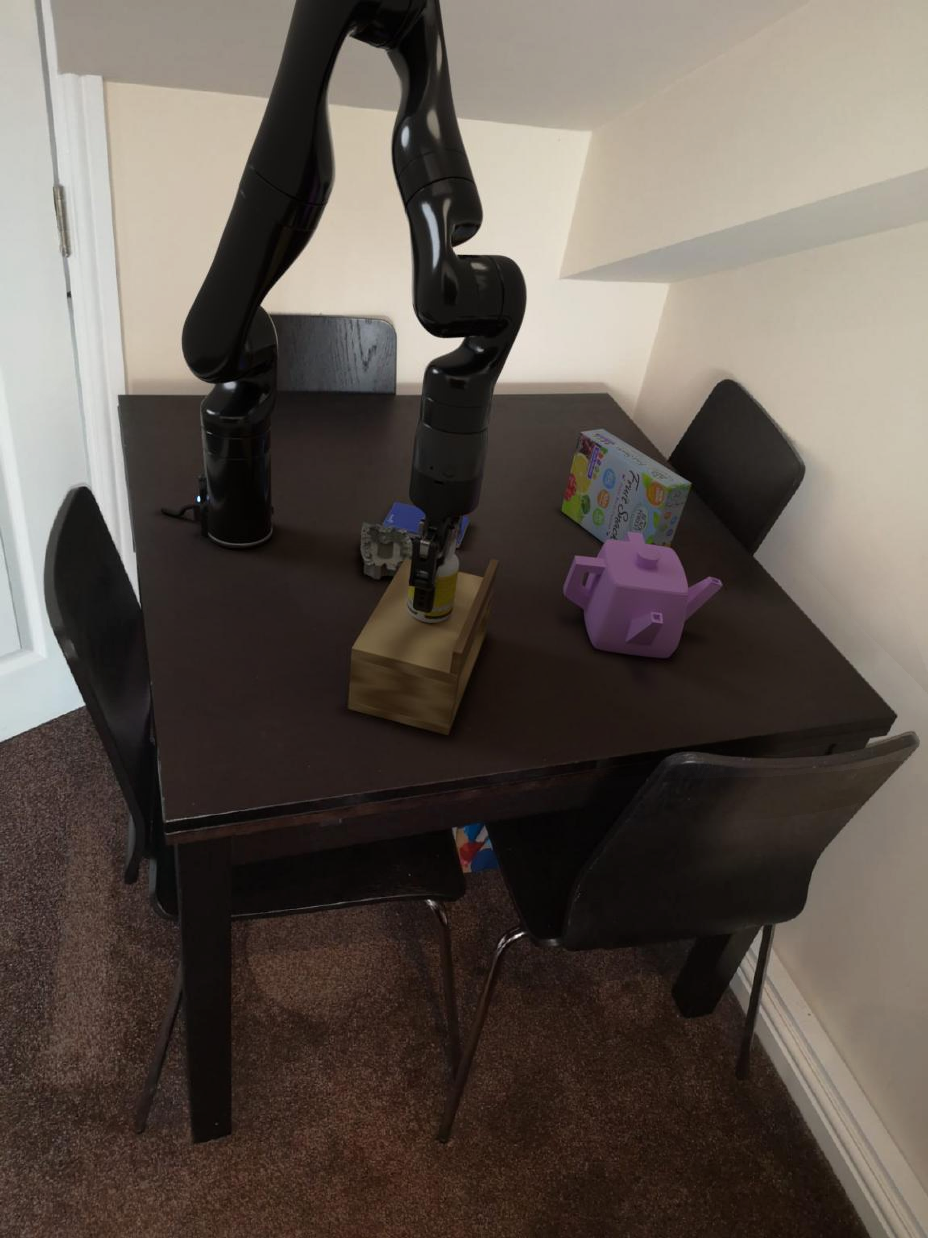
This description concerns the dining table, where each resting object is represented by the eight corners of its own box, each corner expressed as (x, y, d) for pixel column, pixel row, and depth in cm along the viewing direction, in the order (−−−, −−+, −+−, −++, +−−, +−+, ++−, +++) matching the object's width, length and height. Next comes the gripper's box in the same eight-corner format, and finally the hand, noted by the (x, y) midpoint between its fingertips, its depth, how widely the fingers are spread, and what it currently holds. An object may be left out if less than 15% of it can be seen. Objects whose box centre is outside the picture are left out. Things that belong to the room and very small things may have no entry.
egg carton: (411, 582, 114) (414, 558, 112) (359, 579, 113) (360, 555, 111) (409, 543, 123) (411, 520, 120) (360, 540, 122) (361, 517, 119)
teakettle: (615, 580, 122) (635, 509, 115) (708, 636, 113) (737, 563, 106) (542, 616, 112) (560, 541, 104) (639, 682, 103) (666, 604, 95)
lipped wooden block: (347, 709, 91) (353, 625, 84) (399, 614, 108) (407, 538, 101) (448, 735, 90) (461, 653, 83) (485, 636, 106) (499, 560, 99)
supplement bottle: (459, 607, 95) (470, 536, 89) (439, 630, 91) (449, 557, 85) (419, 592, 97) (428, 521, 91) (398, 614, 92) (405, 541, 87)
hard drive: (382, 524, 123) (459, 540, 123) (395, 500, 130) (469, 516, 129) (381, 532, 124) (458, 549, 123) (394, 509, 131) (468, 525, 130)
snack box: (666, 567, 127) (694, 482, 119) (640, 574, 125) (667, 487, 116) (583, 506, 141) (603, 425, 132) (558, 511, 138) (577, 429, 129)
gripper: (432, 429, 89) (417, 554, 98) (393, 481, 77) (381, 617, 87) (497, 443, 88) (476, 568, 97) (468, 498, 76) (447, 634, 86)
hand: (431, 591), depth 92 cm, fingers open, 7 cm apart
